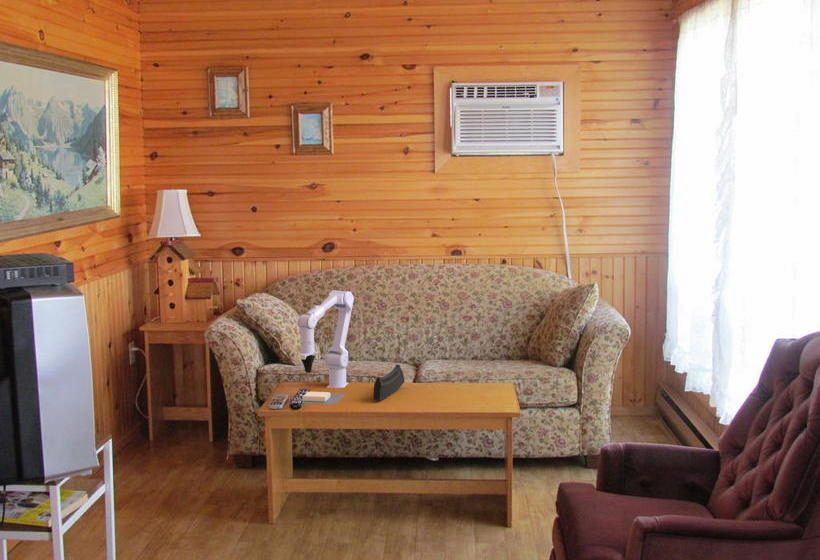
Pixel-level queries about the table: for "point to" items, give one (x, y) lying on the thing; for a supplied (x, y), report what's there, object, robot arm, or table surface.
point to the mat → (332, 400)
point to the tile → (316, 396)
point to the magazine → (388, 384)
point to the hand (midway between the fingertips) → (308, 372)
